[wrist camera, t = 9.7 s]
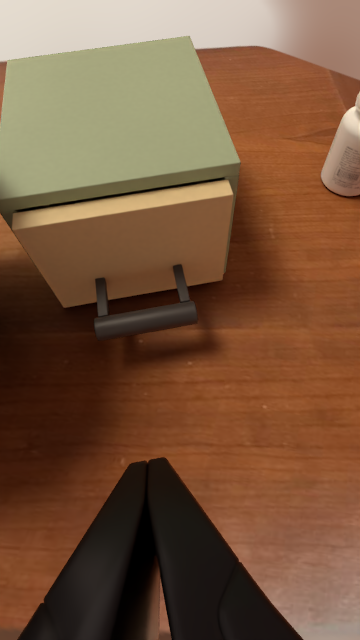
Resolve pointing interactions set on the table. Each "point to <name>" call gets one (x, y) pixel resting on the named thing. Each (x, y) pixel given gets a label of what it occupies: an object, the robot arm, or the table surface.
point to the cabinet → (110, 125)
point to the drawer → (131, 250)
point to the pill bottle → (345, 156)
